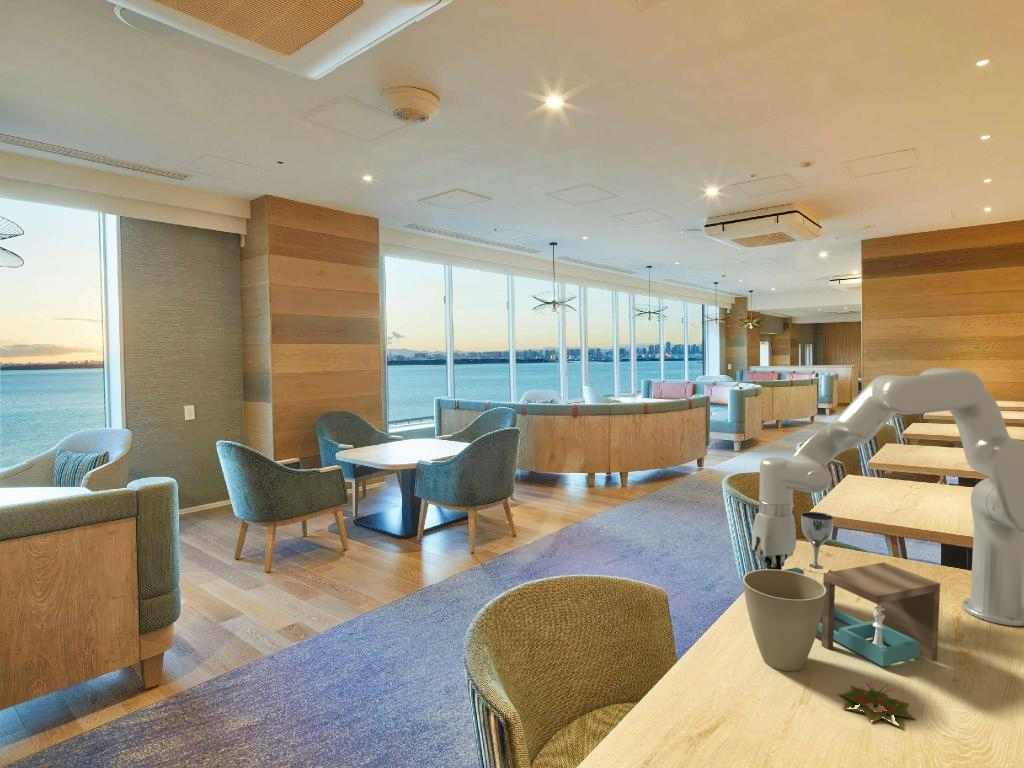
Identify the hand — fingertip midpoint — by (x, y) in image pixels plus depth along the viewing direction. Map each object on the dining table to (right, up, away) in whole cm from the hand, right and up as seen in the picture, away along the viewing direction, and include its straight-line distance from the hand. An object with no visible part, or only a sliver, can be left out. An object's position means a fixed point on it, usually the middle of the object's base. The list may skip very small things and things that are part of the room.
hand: (773, 580), depth 146 cm
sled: (+6, -4, -17) cm, 18 cm away
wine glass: (+20, -3, +19) cm, 27 cm away
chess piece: (+9, -6, -26) cm, 29 cm away
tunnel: (+8, -5, -21) cm, 23 cm away
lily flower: (-2, -8, -44) cm, 45 cm away
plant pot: (-12, -6, -30) cm, 32 cm away
